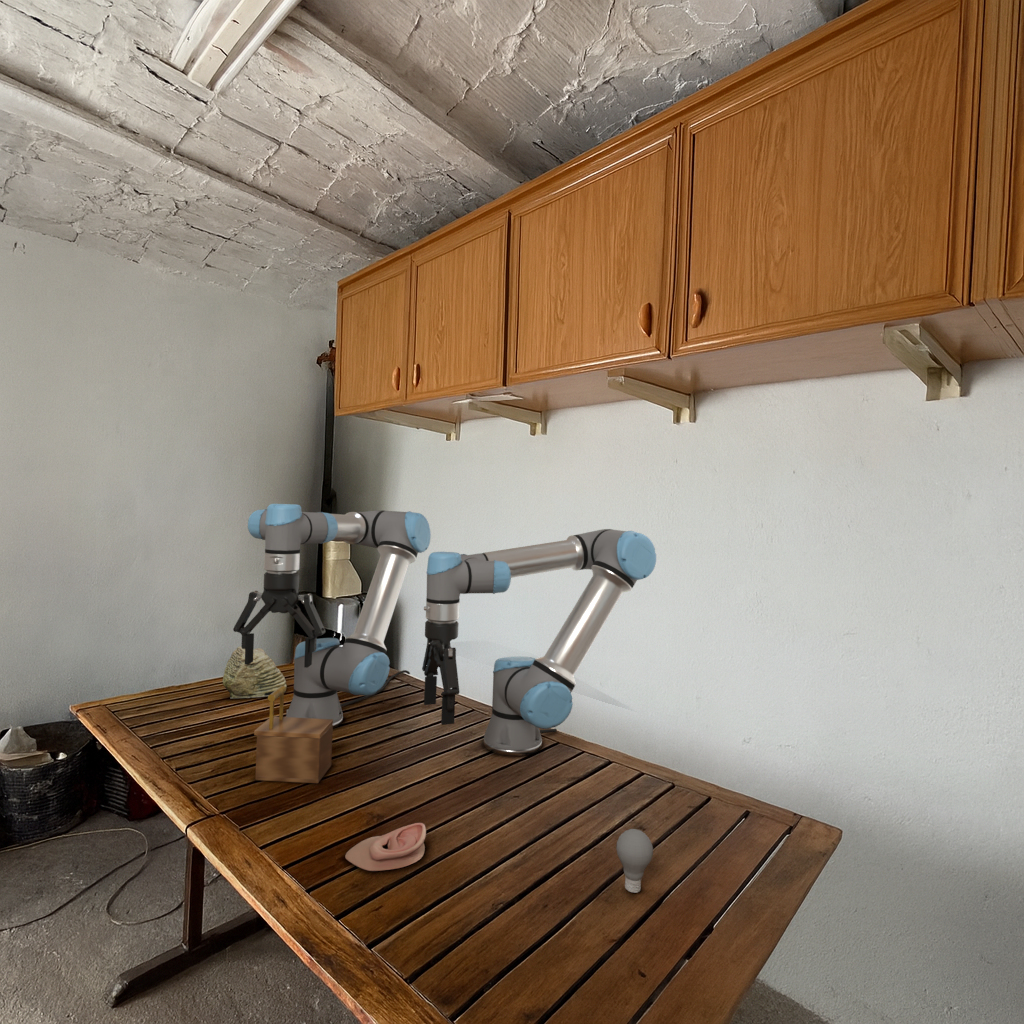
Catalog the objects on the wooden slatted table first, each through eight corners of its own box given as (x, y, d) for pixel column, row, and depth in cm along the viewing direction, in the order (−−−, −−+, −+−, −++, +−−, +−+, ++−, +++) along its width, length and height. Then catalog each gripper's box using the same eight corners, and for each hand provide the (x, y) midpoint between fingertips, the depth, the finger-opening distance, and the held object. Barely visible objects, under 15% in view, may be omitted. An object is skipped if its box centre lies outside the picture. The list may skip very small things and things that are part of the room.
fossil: (218, 695, 195) (220, 647, 195) (278, 685, 208) (279, 640, 207) (228, 703, 189) (230, 653, 188) (289, 692, 201) (290, 645, 201)
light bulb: (610, 879, 108) (613, 822, 108) (644, 879, 109) (647, 822, 109) (619, 902, 102) (622, 840, 102) (655, 901, 103) (658, 840, 103)
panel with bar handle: (254, 735, 140) (255, 695, 140) (271, 720, 149) (272, 683, 149) (319, 738, 140) (321, 699, 139) (332, 723, 149) (334, 686, 149)
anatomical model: (337, 842, 109) (366, 811, 120) (336, 865, 109) (365, 832, 120) (410, 854, 106) (432, 821, 117) (409, 878, 106) (432, 842, 118)
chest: (255, 780, 140) (256, 735, 140) (272, 762, 150) (273, 720, 149) (318, 783, 140) (319, 738, 140) (331, 765, 149) (332, 723, 149)
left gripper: (219, 570, 140) (216, 666, 141) (331, 576, 140) (327, 671, 140) (235, 567, 148) (231, 657, 148) (341, 572, 147) (337, 662, 148)
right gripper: (411, 611, 153) (408, 698, 154) (442, 632, 130) (438, 735, 131) (441, 610, 156) (438, 695, 157) (476, 631, 133) (472, 731, 134)
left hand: (278, 664), depth 144 cm, fingers open, 13 cm apart
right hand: (438, 713), depth 144 cm, fingers open, 13 cm apart
